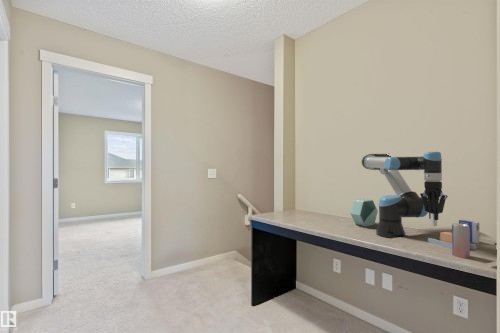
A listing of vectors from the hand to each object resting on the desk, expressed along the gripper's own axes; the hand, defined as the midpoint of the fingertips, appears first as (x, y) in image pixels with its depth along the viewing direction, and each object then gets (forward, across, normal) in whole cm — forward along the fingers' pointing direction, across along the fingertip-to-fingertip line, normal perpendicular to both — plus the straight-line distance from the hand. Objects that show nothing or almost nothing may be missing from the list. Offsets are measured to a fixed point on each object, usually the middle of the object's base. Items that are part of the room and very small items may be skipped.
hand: (433, 225), depth 133 cm
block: (+8, +8, 0) cm, 11 cm away
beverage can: (+10, +19, -11) cm, 24 cm away
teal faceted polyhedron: (+9, -48, -1) cm, 49 cm away
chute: (+10, +8, 0) cm, 12 cm away
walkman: (+10, +6, +17) cm, 21 cm away
